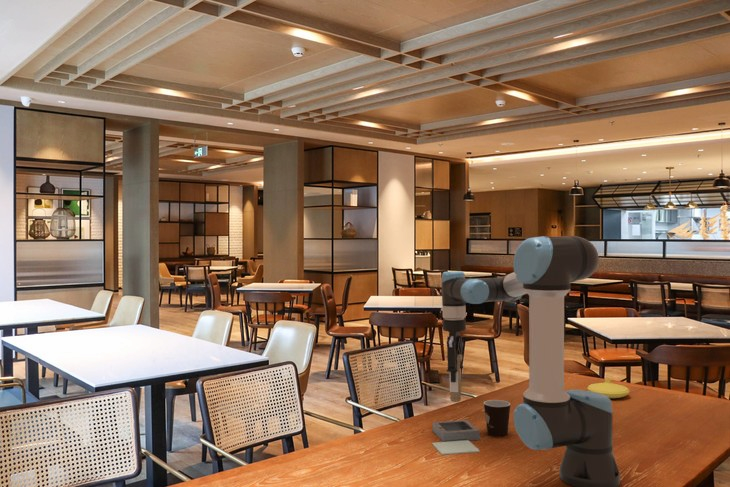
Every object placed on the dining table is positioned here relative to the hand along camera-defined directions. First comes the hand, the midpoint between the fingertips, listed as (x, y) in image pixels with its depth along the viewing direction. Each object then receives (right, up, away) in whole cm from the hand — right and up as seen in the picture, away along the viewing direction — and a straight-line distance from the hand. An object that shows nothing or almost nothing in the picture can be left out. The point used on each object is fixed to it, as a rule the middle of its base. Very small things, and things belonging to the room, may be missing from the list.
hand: (455, 389), depth 202 cm
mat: (-2, -15, -12) cm, 19 cm away
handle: (0, -4, 0) cm, 4 cm away
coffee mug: (+14, -15, +3) cm, 21 cm away
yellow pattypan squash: (+68, -14, +47) cm, 84 cm away
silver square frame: (0, -15, 0) cm, 15 cm away
